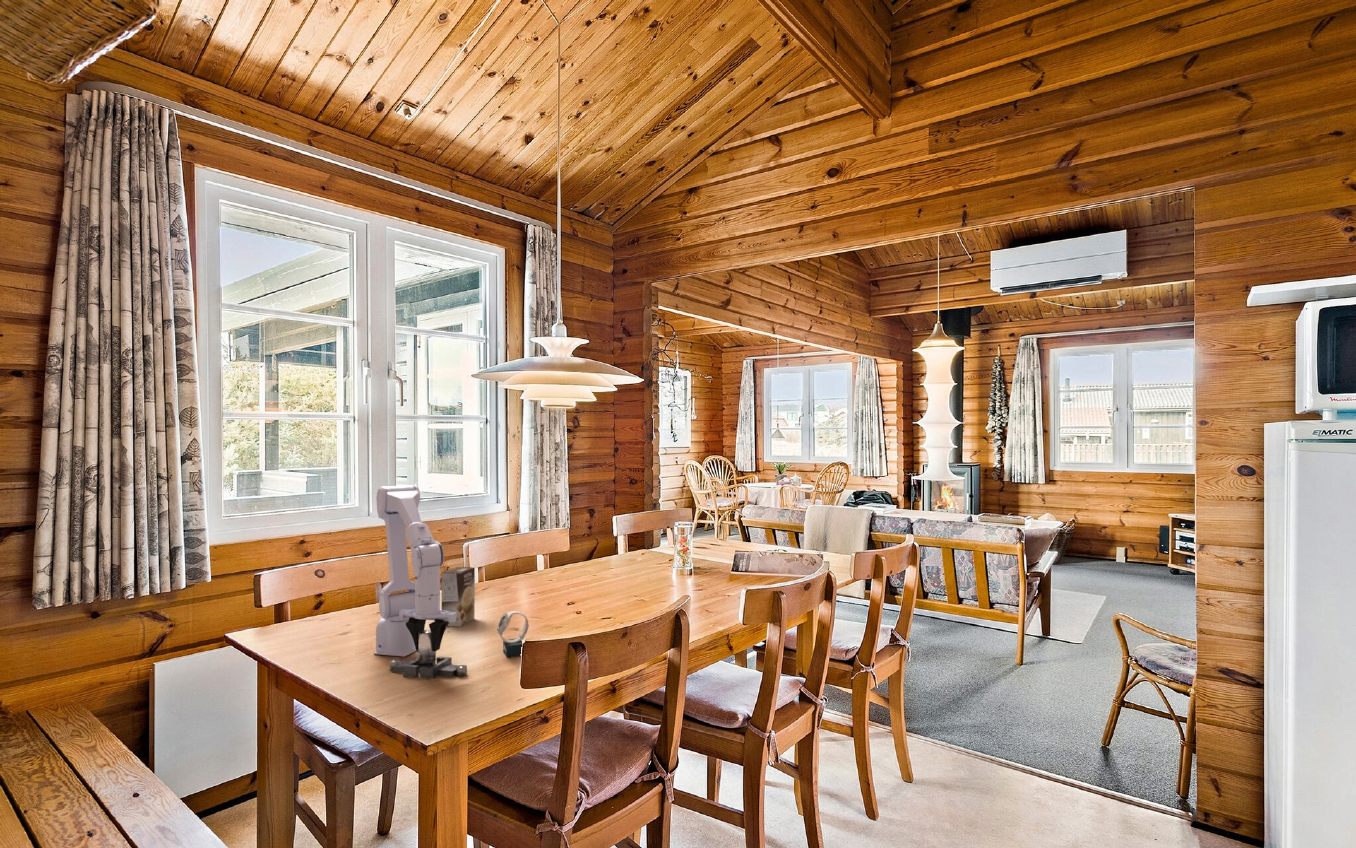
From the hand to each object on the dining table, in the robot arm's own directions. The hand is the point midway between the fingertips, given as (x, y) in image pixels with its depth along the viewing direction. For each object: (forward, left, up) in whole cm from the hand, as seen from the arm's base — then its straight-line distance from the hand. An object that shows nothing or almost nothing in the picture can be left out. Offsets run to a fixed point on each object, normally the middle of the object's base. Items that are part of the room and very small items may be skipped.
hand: (427, 649), depth 168 cm
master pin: (0, 0, -3) cm, 3 cm away
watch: (+14, +17, -6) cm, 23 cm away
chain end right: (+5, 0, -5) cm, 8 cm away
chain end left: (-5, 0, -6) cm, 8 cm away
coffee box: (-16, +40, -6) cm, 43 cm away
